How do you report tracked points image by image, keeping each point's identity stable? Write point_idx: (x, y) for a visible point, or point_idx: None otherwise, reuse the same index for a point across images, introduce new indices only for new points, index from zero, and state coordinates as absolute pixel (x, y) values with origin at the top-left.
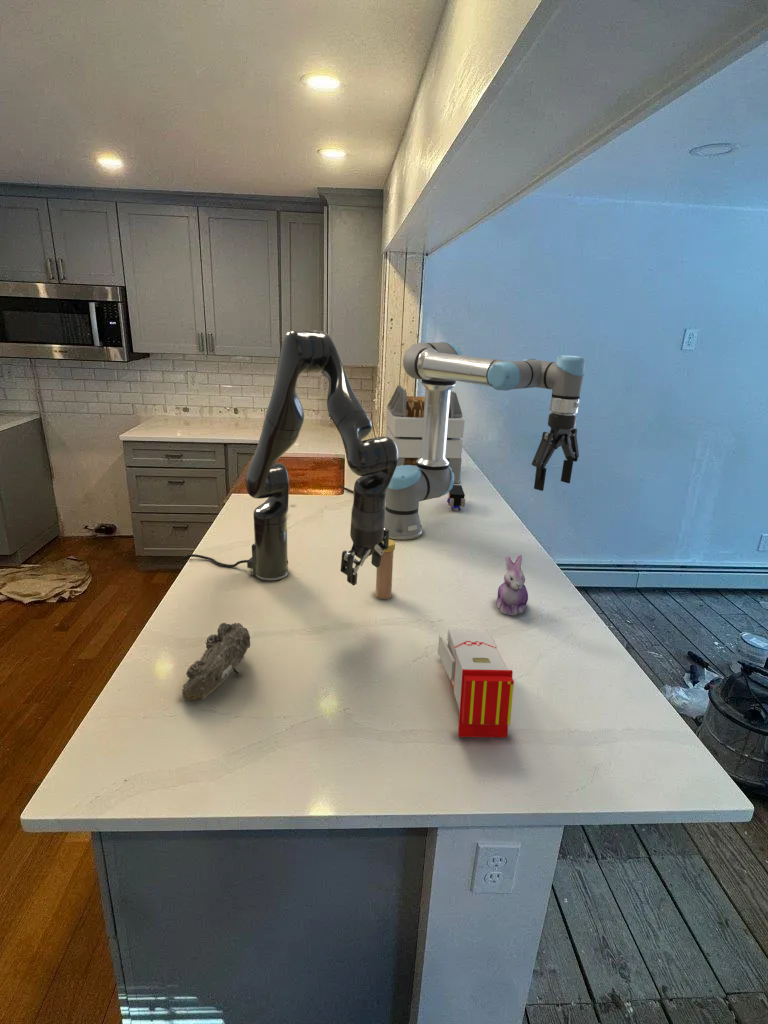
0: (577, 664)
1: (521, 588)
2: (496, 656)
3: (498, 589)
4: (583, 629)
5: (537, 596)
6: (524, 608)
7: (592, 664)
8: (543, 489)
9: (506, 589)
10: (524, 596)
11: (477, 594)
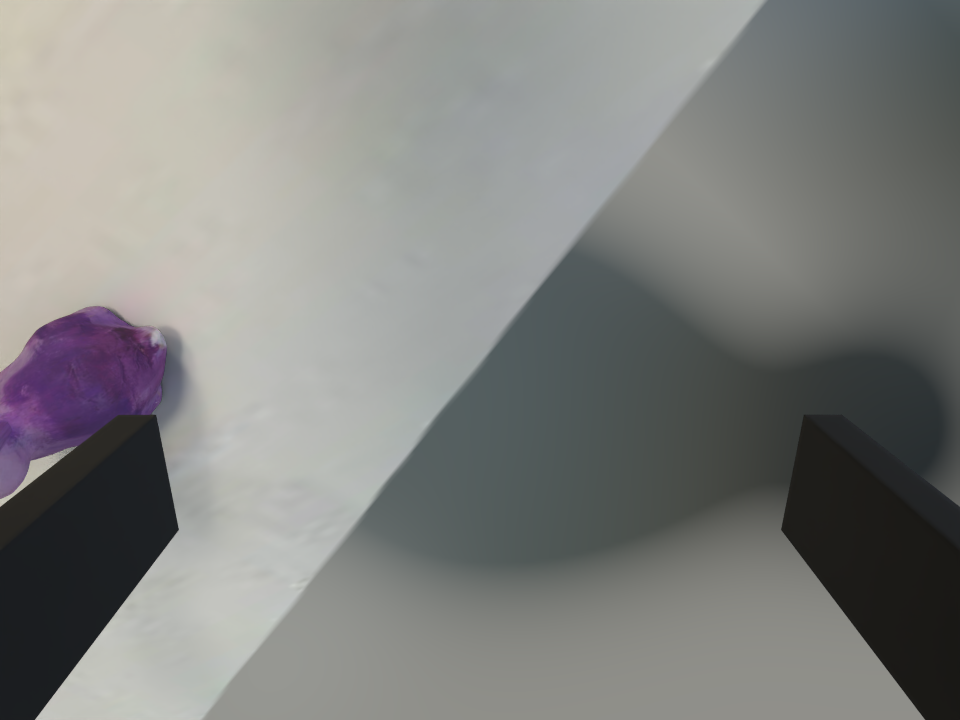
0: None
1: (42, 455)
2: None
3: (33, 334)
4: (234, 587)
5: (278, 376)
6: None
7: (103, 681)
8: (169, 540)
9: None
10: None
11: (47, 212)
